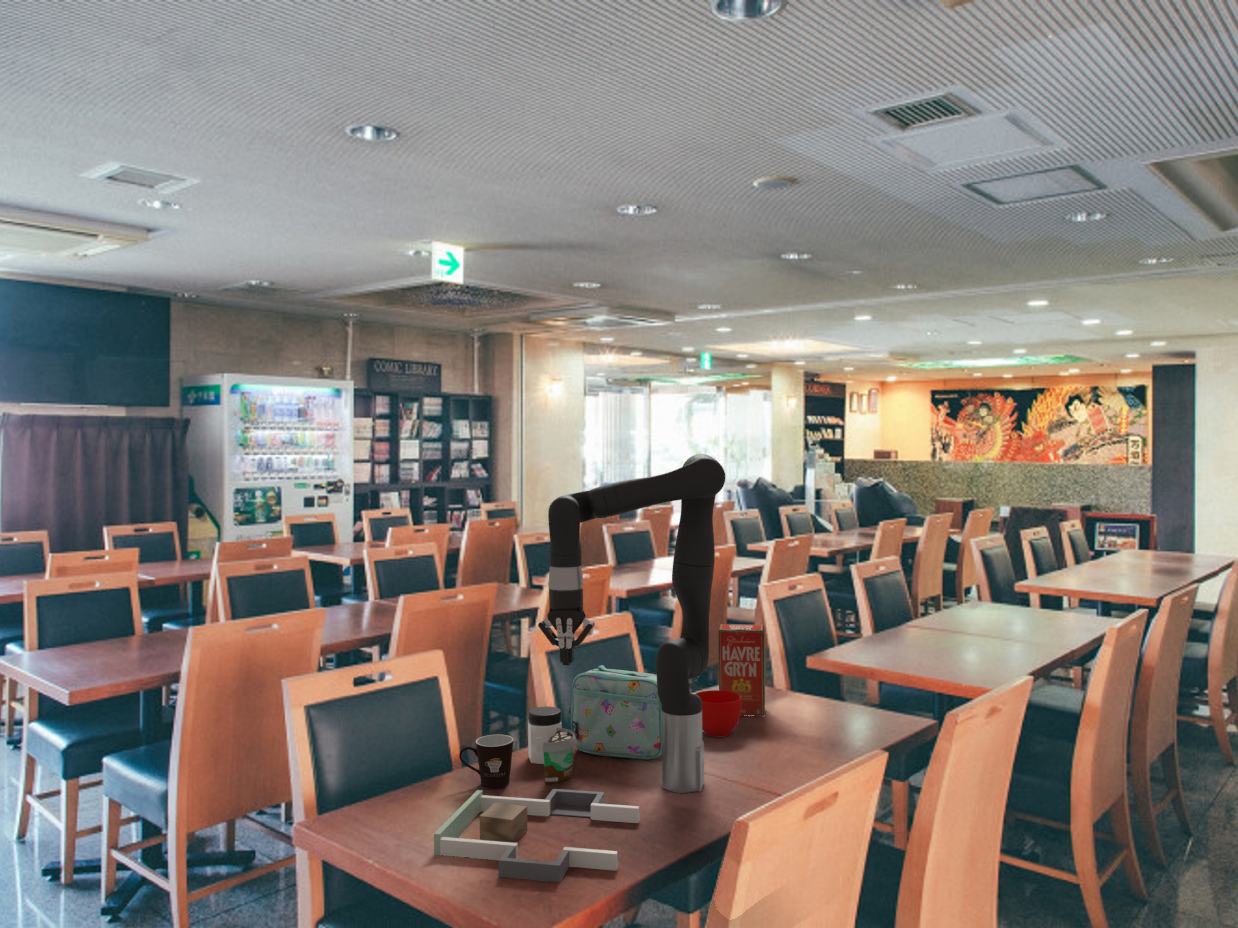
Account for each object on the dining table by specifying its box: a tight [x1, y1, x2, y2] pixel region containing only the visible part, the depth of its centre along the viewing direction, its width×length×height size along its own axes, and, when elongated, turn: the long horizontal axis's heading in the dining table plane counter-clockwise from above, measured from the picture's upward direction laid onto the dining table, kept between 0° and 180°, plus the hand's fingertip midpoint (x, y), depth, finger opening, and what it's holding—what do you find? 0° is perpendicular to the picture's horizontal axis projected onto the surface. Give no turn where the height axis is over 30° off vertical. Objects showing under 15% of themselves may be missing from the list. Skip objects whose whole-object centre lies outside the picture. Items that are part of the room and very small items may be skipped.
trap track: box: [433, 788, 640, 883], centre depth 175 cm, size 35×35×4 cm
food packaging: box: [717, 623, 766, 717], centre depth 260 cm, size 13×9×25 cm
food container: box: [543, 727, 577, 786], centre depth 208 cm, size 12×6×10 cm, turn 168°
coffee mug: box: [458, 734, 514, 790], centre depth 205 cm, size 12×9×10 cm
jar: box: [527, 706, 563, 765], centre depth 221 cm, size 9×8×12 cm
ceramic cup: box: [695, 689, 741, 738], centre depth 241 cm, size 13×17×10 cm
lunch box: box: [567, 664, 662, 760], centre depth 225 cm, size 27×10×21 cm, turn 68°
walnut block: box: [479, 803, 528, 843], centre depth 177 cm, size 7×7×5 cm
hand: (566, 664), depth 197 cm, fingers closed
